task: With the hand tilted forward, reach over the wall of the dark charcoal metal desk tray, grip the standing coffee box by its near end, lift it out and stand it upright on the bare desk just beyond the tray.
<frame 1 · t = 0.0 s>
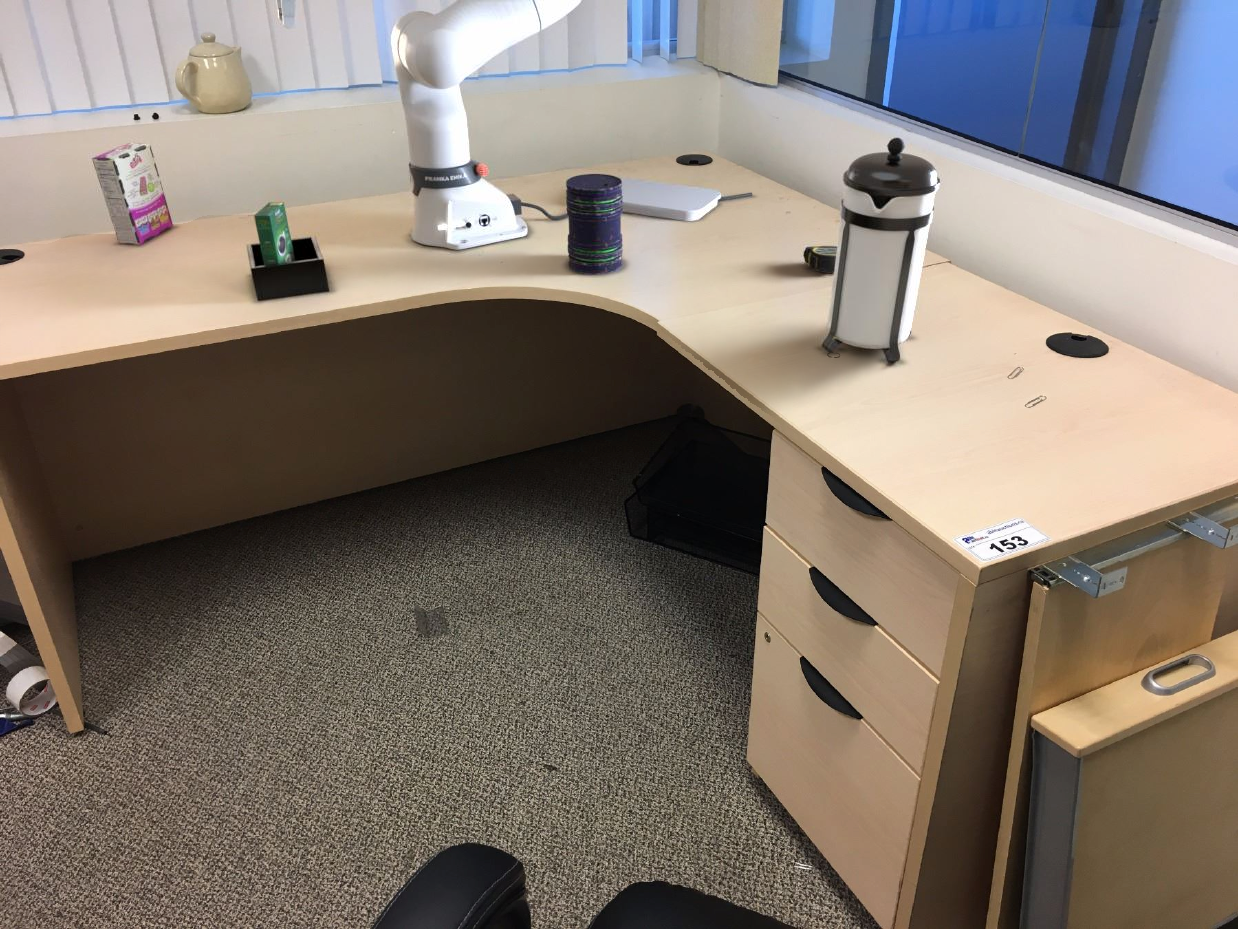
hand: (286, 23, 155), 39 cm above the table, tool pointing down, fingers open, 8 cm apart
coffee box: (284, 284, 162), resting on desk tray
tablet: (653, 205, 200), on the table
tape measure: (822, 269, 168), on the table
candy bar box: (146, 236, 184), on the table
coffee press: (865, 340, 143), on the table
storage jar: (595, 265, 170), on the table
desk tray: (290, 283, 163), on the table
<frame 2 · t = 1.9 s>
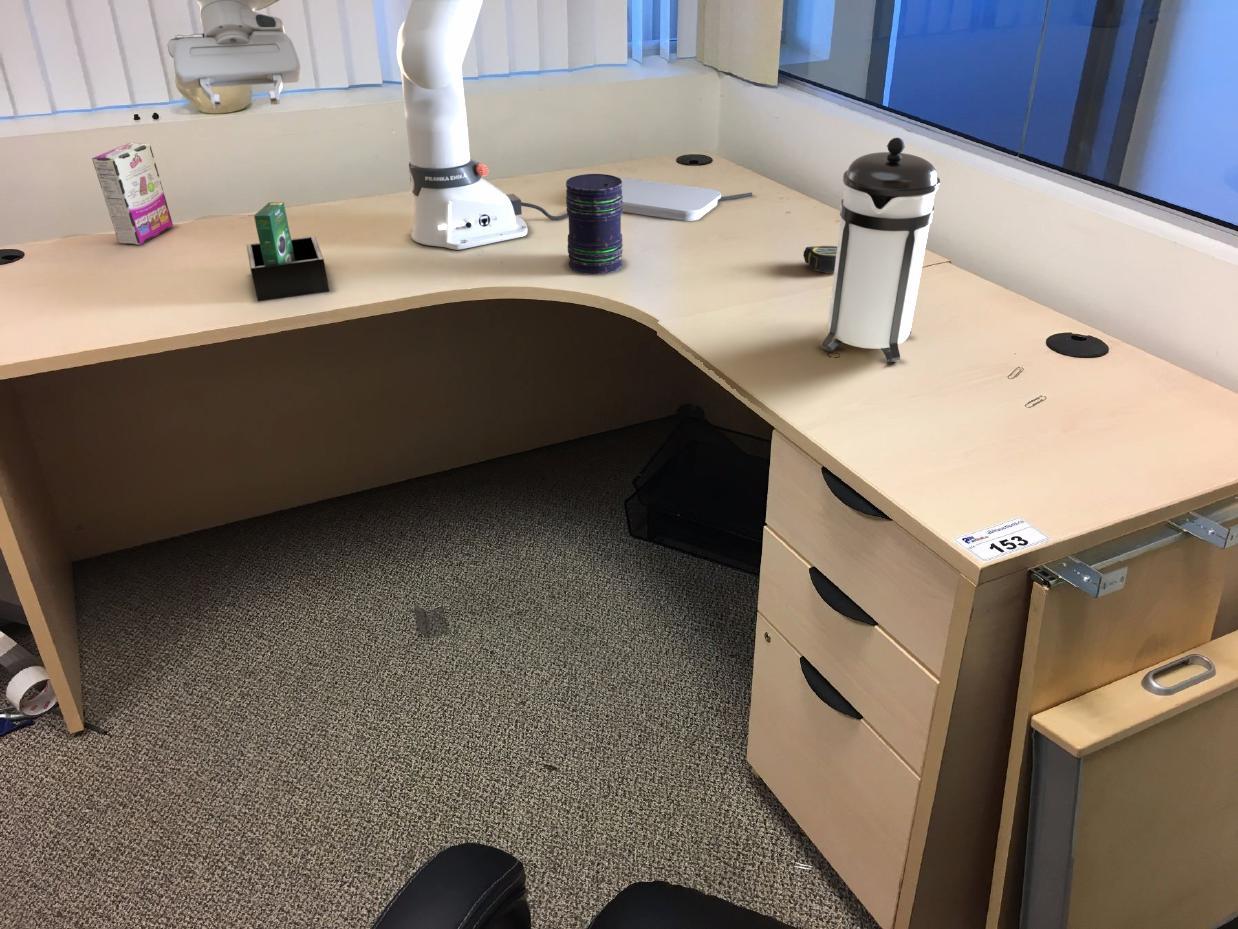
hand: (246, 104, 159), 27 cm above the table, tool tilted 45°, fingers open, 8 cm apart
nothing on the table moved.
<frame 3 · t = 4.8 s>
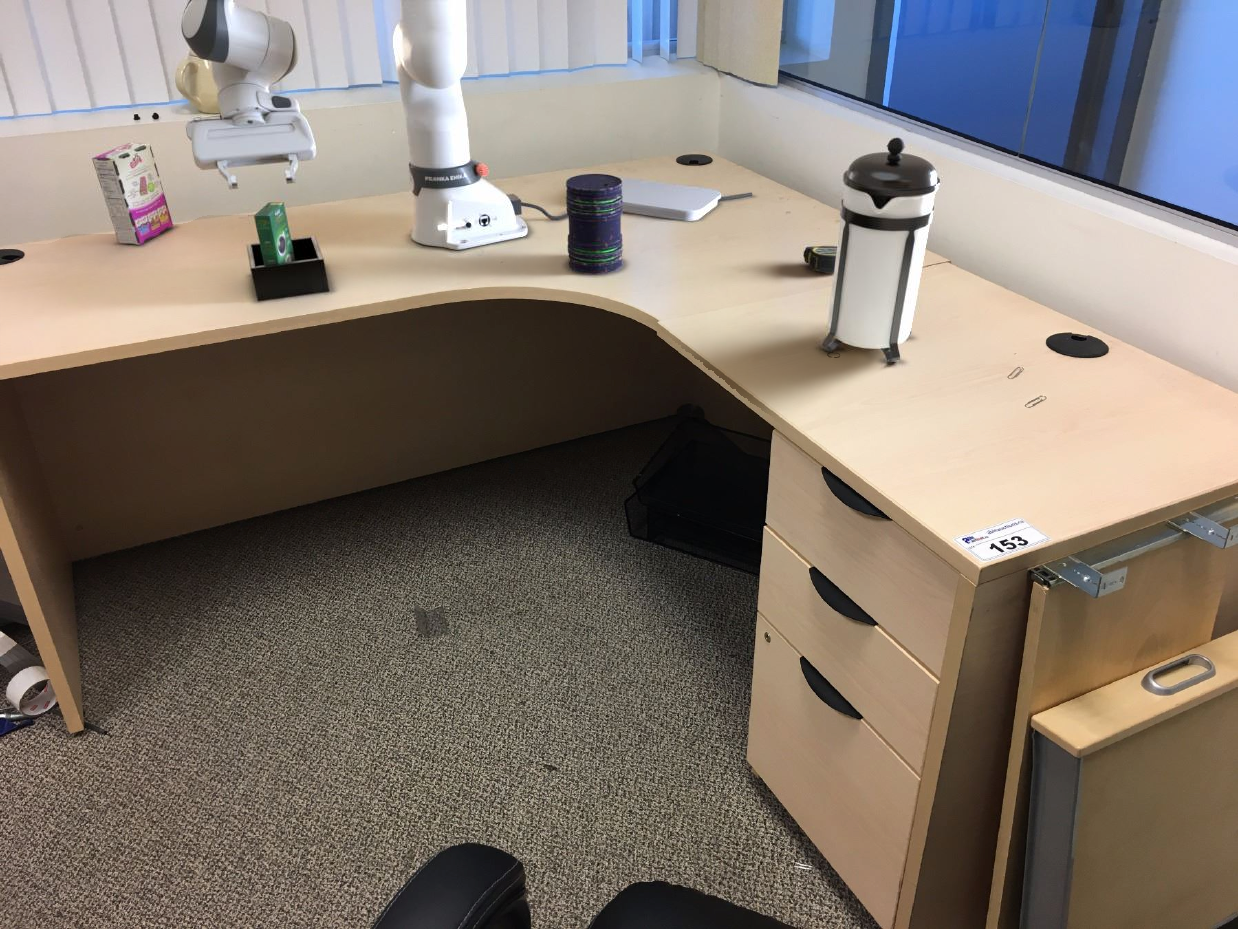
hand: (262, 184, 162), 15 cm above the table, tool tilted 45°, fingers open, 8 cm apart
nothing on the table moved.
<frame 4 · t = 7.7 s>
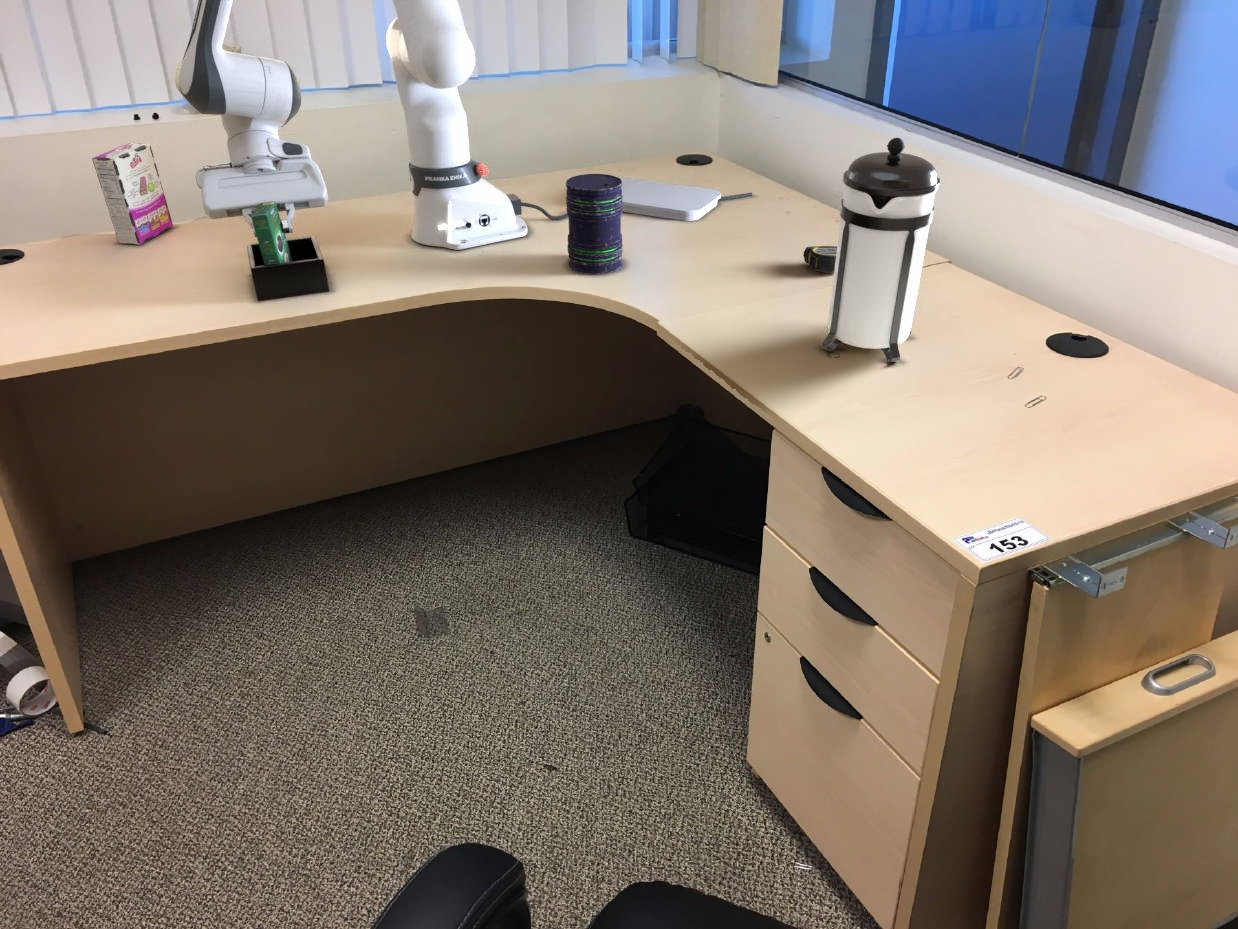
hand: (273, 233, 159), 8 cm above the table, tool tilted 45°, fingers closed on coffee box, 3 cm apart
coffee box: (285, 283, 162), resting on desk tray, touching gripper
everything else where it was.
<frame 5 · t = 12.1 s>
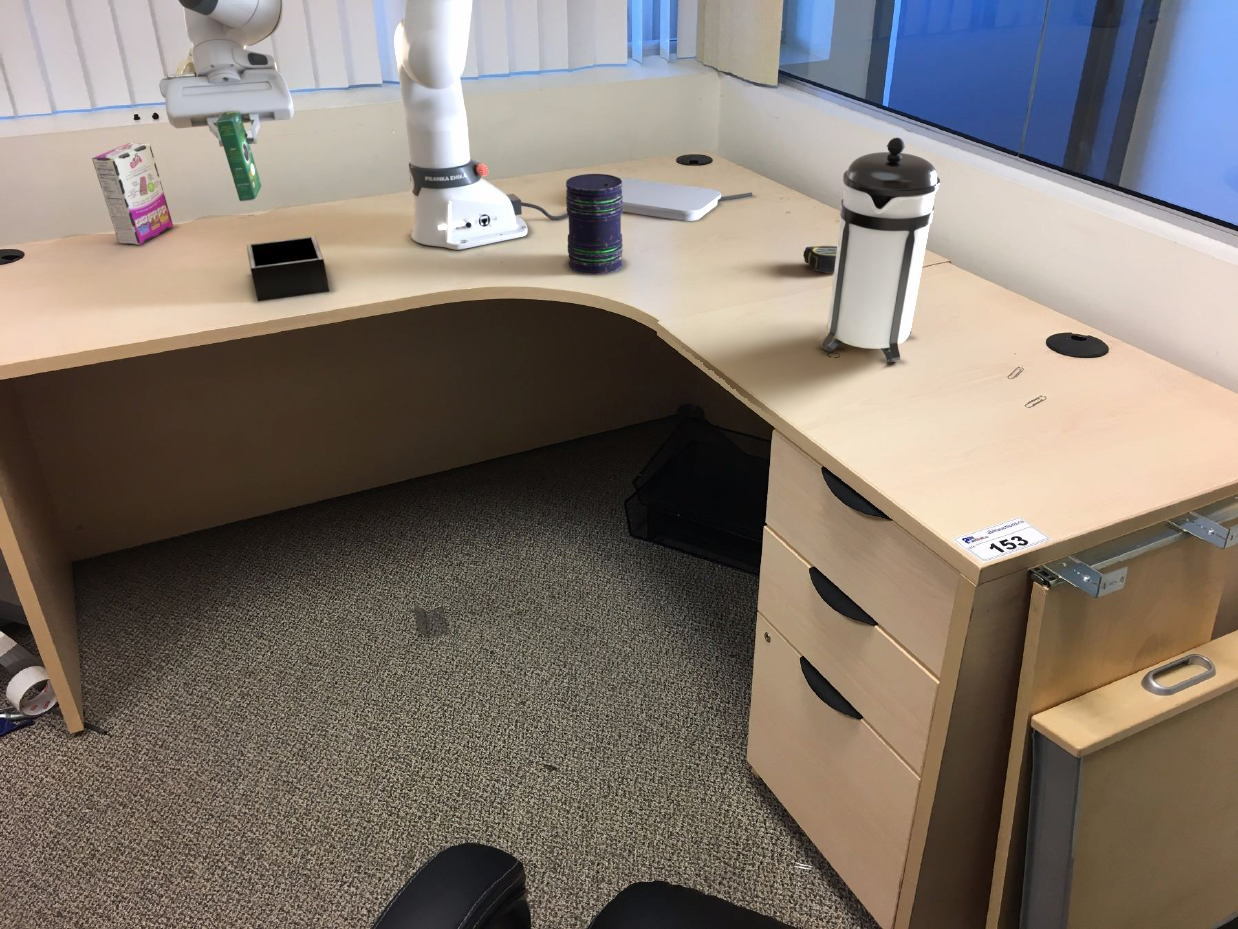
hand: (238, 143, 158), 21 cm above the table, tool tilted 45°, fingers closed on coffee box, 3 cm apart
coffee box: (251, 195, 161), point 13 cm above the table, touching gripper
everything else where it was.
when the fingers open (8 cm above the table, at t = 16.8 s): coffee box stays where it is, on the table.
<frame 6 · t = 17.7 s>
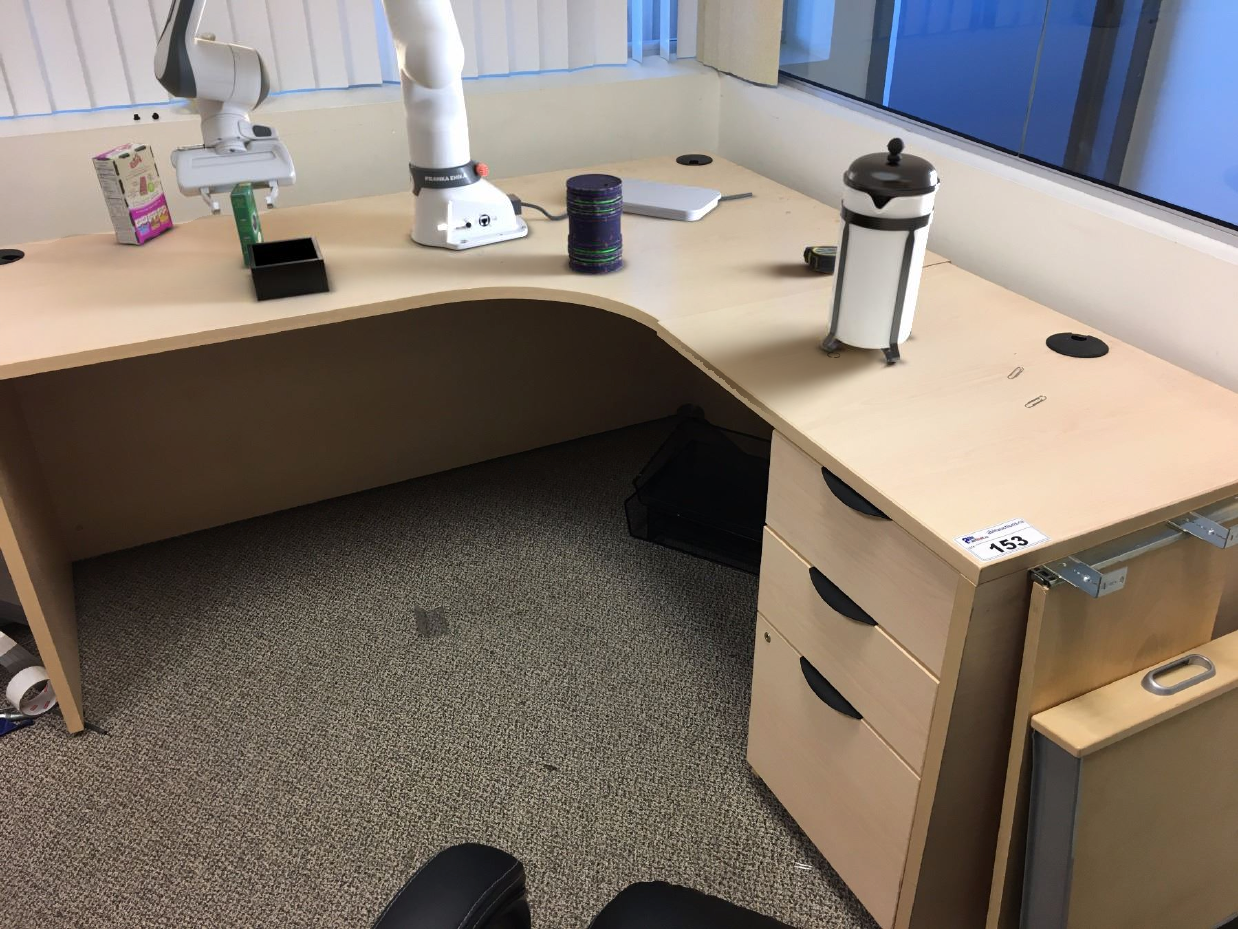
hand: (244, 210, 169), 9 cm above the table, tool tilted 45°, fingers open, 8 cm apart
coffee box: (256, 260, 173), on the table
everything else where it was.
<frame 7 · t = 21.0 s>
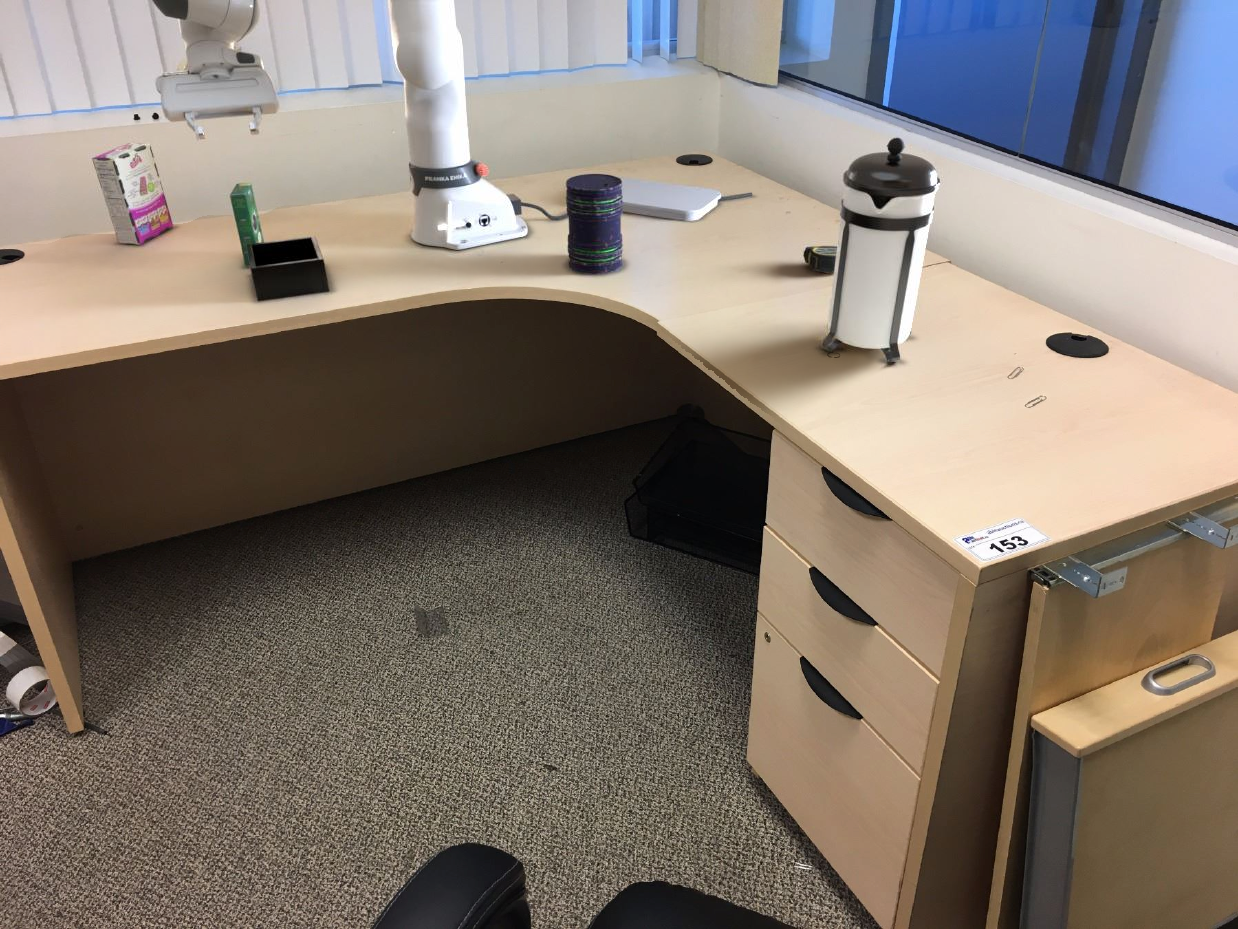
hand: (228, 135, 173), 19 cm above the table, tool tilted 45°, fingers open, 8 cm apart
nothing on the table moved.
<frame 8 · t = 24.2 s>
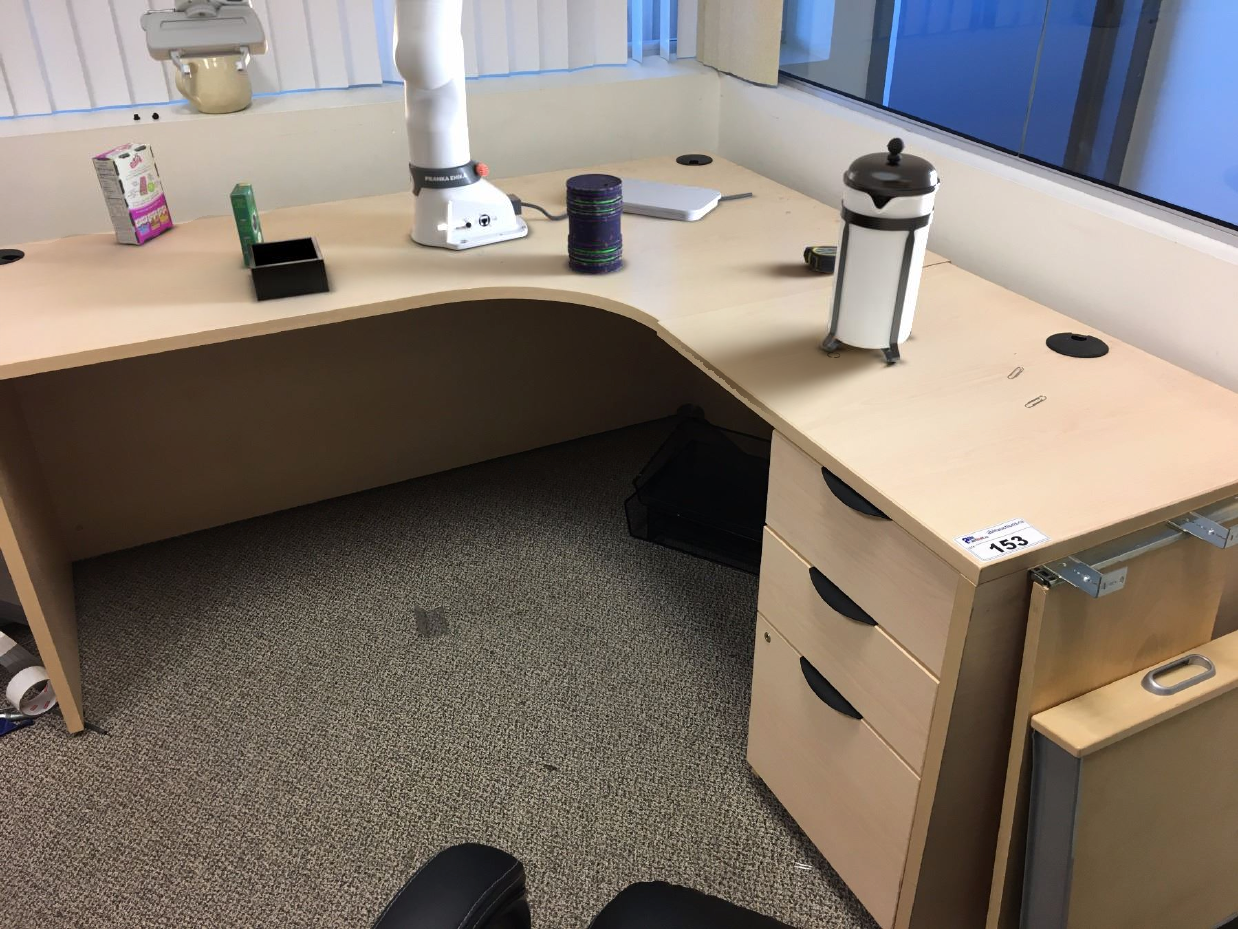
hand: (214, 74, 168), 29 cm above the table, tool tilted 45°, fingers open, 8 cm apart
nothing on the table moved.
at the end: coffee box inside the target area (1.5 cm from its centre), on the table; coffee box tilted 0°; the gripper is holding nothing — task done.
